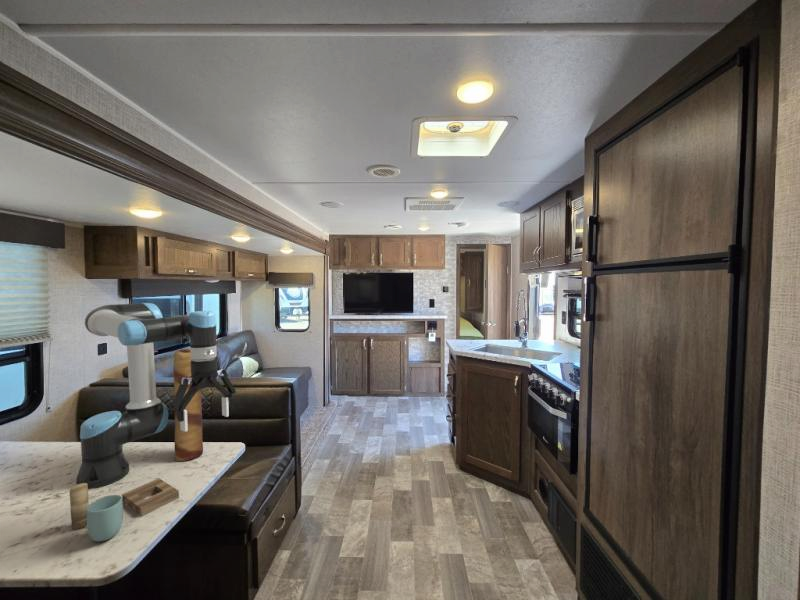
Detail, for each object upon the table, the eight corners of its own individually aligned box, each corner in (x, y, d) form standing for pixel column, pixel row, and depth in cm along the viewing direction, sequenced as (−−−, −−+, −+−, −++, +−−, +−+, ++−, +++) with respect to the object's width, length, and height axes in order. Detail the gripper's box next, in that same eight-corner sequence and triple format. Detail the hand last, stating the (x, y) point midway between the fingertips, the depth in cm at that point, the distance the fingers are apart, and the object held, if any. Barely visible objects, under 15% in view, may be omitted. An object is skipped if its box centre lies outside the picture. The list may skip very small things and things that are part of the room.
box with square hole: (122, 501, 116) (122, 494, 116) (159, 484, 125) (158, 478, 125) (141, 516, 109) (141, 508, 109) (178, 497, 118) (178, 490, 118)
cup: (102, 527, 104) (100, 495, 103) (130, 525, 105) (128, 493, 104) (80, 547, 96) (78, 512, 96) (110, 545, 97) (108, 511, 96)
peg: (69, 527, 104) (67, 488, 103) (86, 519, 108) (84, 481, 107) (74, 532, 102) (72, 492, 101) (91, 523, 105) (89, 485, 105)
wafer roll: (203, 447, 154) (200, 346, 151) (204, 457, 144) (200, 351, 142) (175, 453, 148) (171, 349, 146) (174, 464, 139) (170, 353, 137)
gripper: (167, 368, 100) (170, 440, 101) (245, 353, 121) (246, 412, 123) (155, 365, 104) (157, 434, 105) (232, 350, 125) (234, 408, 126)
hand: (205, 422), depth 114 cm, fingers open, 13 cm apart
